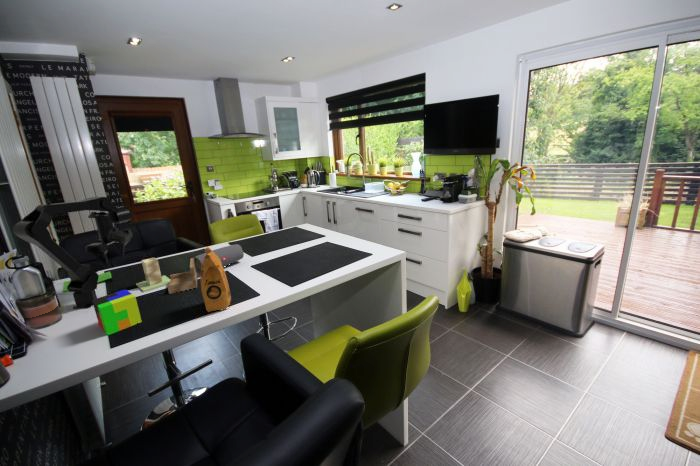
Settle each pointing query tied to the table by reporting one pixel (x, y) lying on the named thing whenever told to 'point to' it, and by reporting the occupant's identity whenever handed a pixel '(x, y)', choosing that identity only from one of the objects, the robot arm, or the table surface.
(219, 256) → the bluetooth speaker
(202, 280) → the coffee package
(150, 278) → the beech block
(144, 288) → the olive mat
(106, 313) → the puzzle toy
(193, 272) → the light wood angled piece
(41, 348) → the table surface
